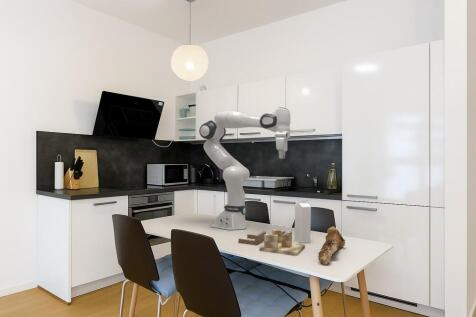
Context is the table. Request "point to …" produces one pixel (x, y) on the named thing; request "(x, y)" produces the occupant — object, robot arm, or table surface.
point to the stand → (281, 243)
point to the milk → (302, 222)
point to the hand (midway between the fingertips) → (281, 158)
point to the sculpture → (331, 245)
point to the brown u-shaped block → (258, 238)
